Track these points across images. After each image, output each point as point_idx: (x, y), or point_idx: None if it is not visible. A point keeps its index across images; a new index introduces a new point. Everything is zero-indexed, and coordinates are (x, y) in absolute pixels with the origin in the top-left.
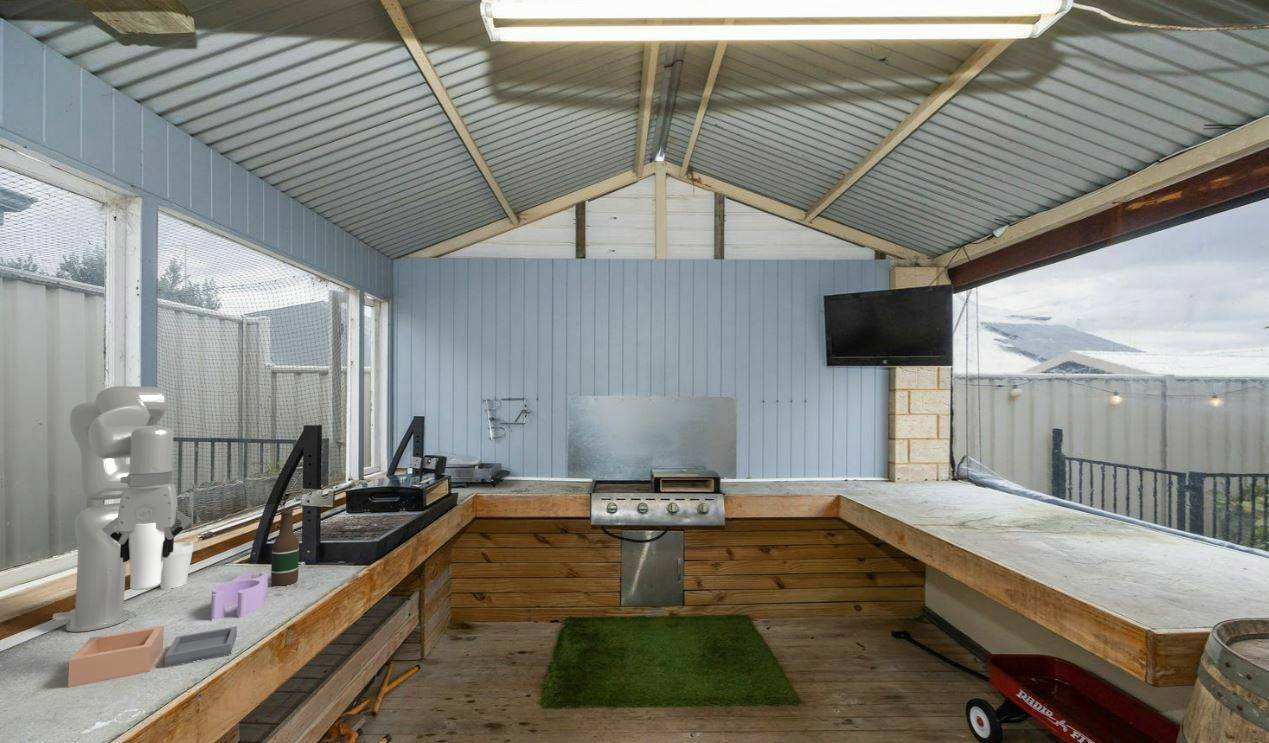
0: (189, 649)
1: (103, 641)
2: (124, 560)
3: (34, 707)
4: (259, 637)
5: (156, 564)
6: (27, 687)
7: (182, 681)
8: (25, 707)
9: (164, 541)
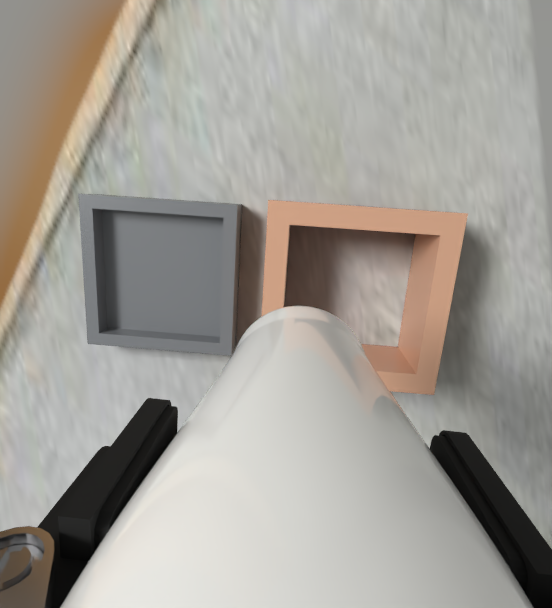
0: (194, 274)
1: (398, 368)
2: (456, 436)
3: (493, 116)
4: (42, 287)
5: (228, 364)
6: (520, 275)
7: (185, 64)
8: (511, 131)
9: (103, 519)
